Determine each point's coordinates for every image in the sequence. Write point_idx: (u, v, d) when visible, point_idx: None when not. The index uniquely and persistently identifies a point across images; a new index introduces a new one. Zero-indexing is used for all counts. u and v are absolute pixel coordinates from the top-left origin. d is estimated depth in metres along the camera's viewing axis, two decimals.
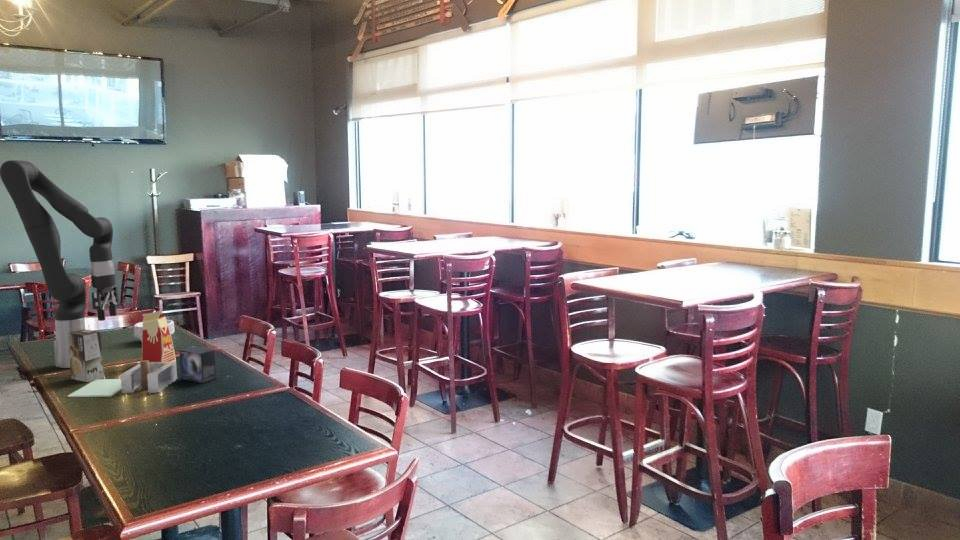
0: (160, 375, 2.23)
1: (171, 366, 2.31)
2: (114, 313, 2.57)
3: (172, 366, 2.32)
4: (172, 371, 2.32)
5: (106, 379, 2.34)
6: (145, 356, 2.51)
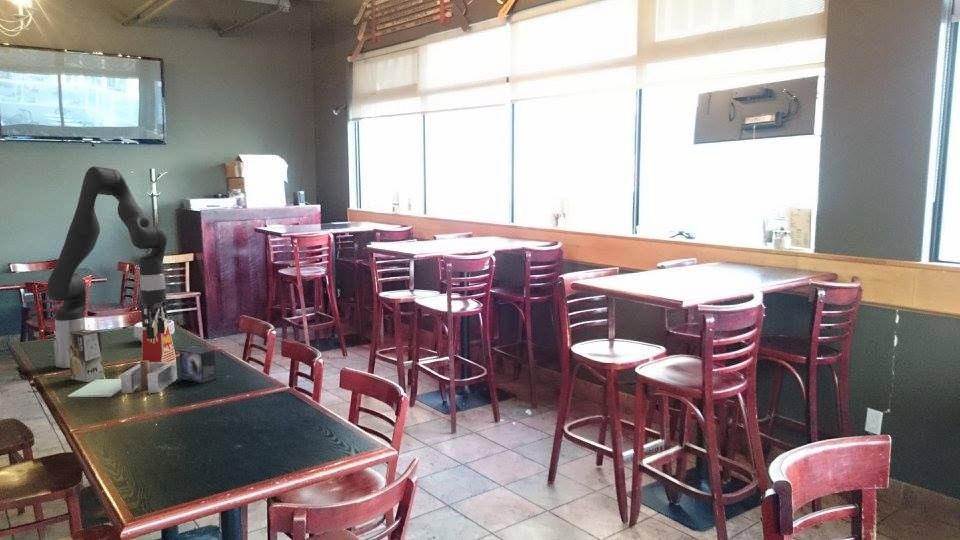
0: (160, 375, 2.23)
1: (171, 366, 2.31)
2: (162, 330, 2.37)
3: (172, 366, 2.32)
4: (172, 371, 2.32)
5: (106, 379, 2.34)
6: (145, 356, 2.51)
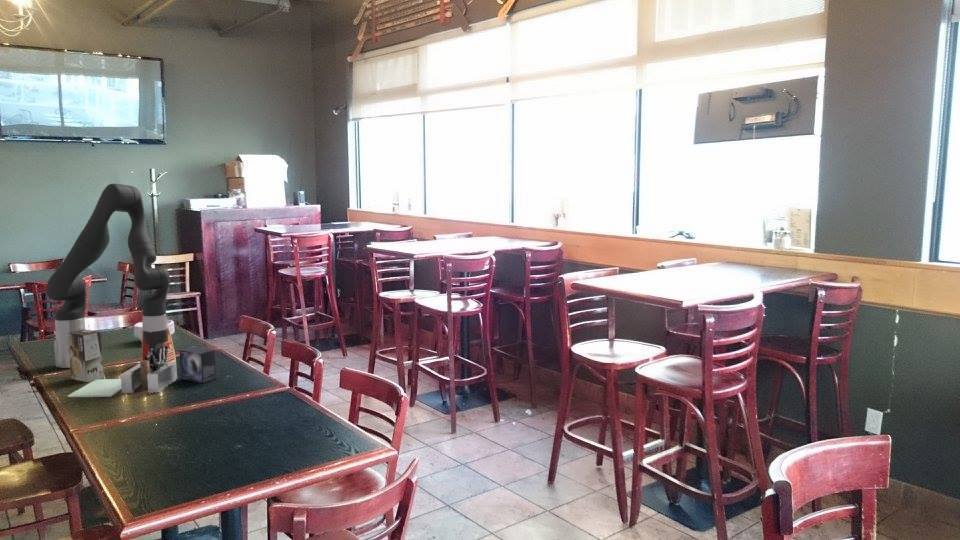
0: (160, 375, 2.23)
1: (171, 366, 2.31)
2: None
3: (172, 366, 2.32)
4: (172, 371, 2.32)
5: (106, 379, 2.34)
6: None
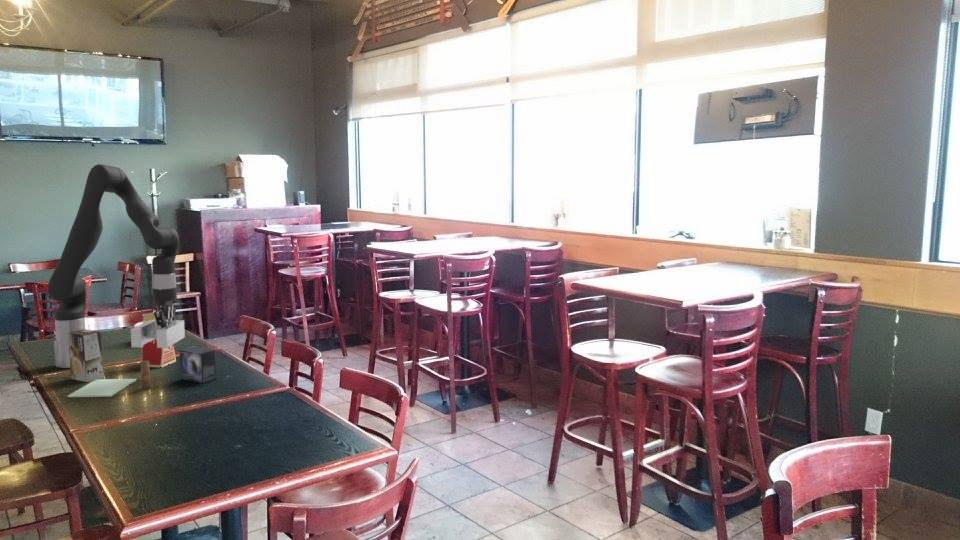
0: (169, 331, 2.30)
1: (179, 324, 2.39)
2: None
3: (180, 324, 2.40)
4: (180, 329, 2.40)
5: (106, 379, 2.34)
6: (145, 356, 2.51)
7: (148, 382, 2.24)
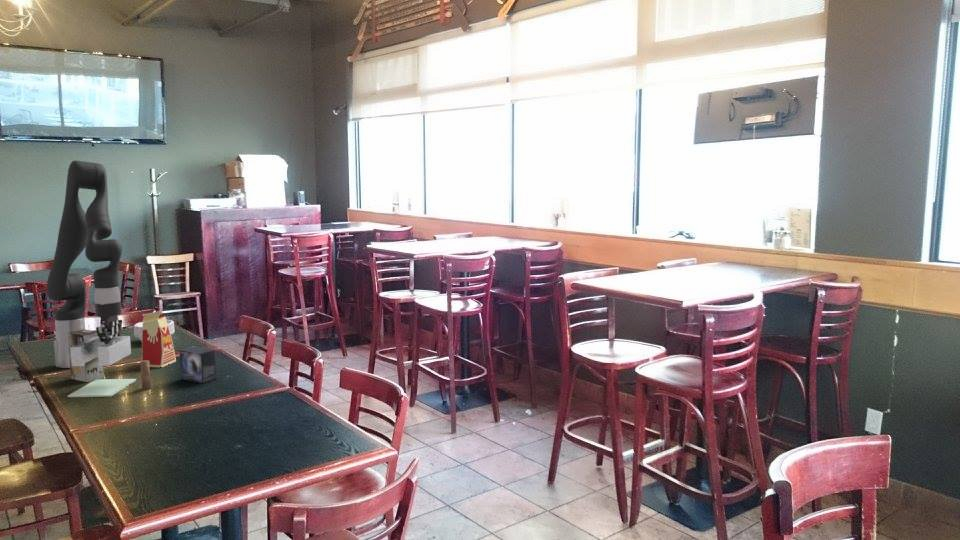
0: (111, 348, 2.19)
1: (124, 340, 2.28)
2: None
3: (126, 340, 2.29)
4: (125, 345, 2.28)
5: (106, 379, 2.34)
6: (145, 356, 2.51)
7: (148, 382, 2.24)
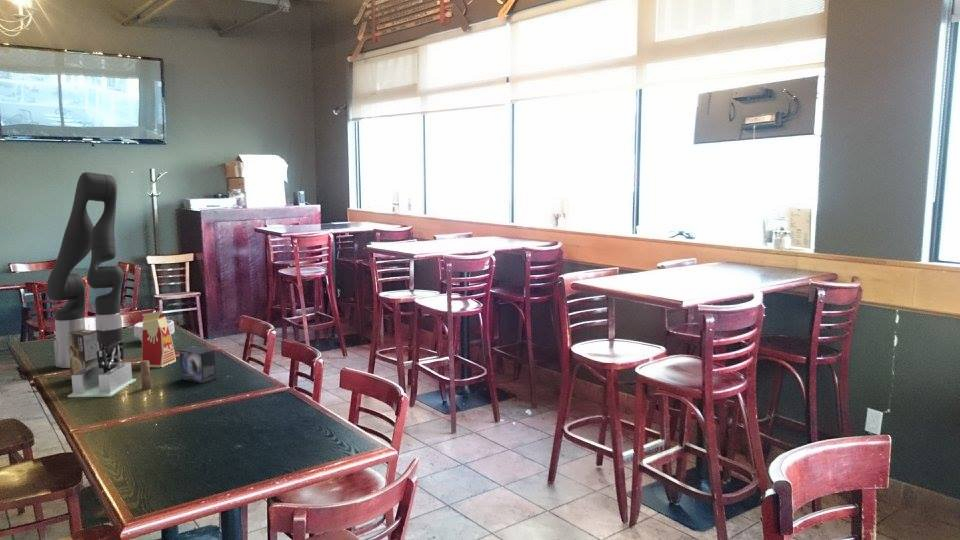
0: (112, 376, 2.20)
1: (125, 366, 2.29)
2: None
3: (127, 367, 2.30)
4: (126, 372, 2.29)
5: None
6: (145, 356, 2.51)
7: (148, 382, 2.24)
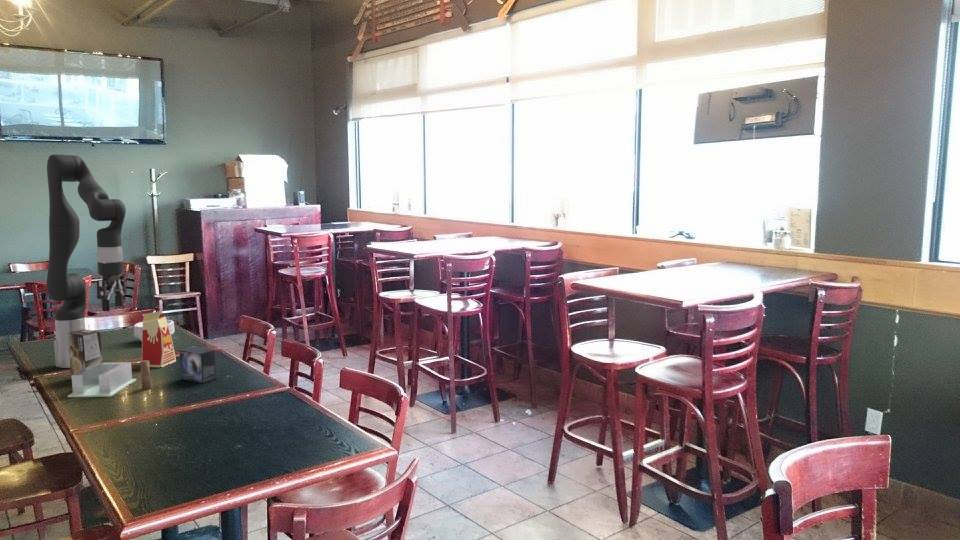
0: (112, 376, 2.20)
1: (125, 366, 2.29)
2: (120, 304, 2.36)
3: (127, 367, 2.30)
4: (126, 372, 2.29)
5: None
6: (145, 356, 2.51)
7: (148, 382, 2.24)
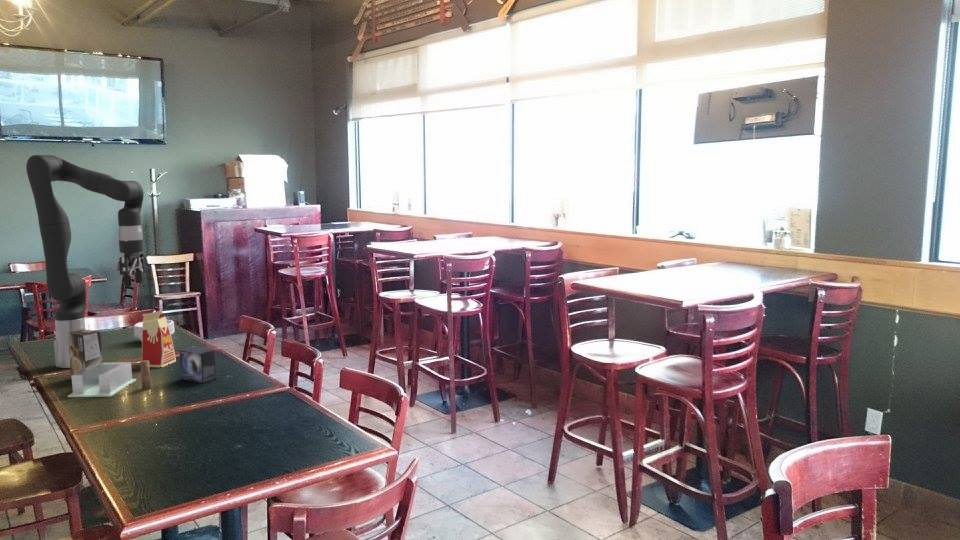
0: (112, 376, 2.20)
1: (125, 366, 2.29)
2: (140, 280, 2.49)
3: (127, 367, 2.30)
4: (126, 372, 2.29)
5: None
6: (145, 356, 2.51)
7: (148, 382, 2.24)
